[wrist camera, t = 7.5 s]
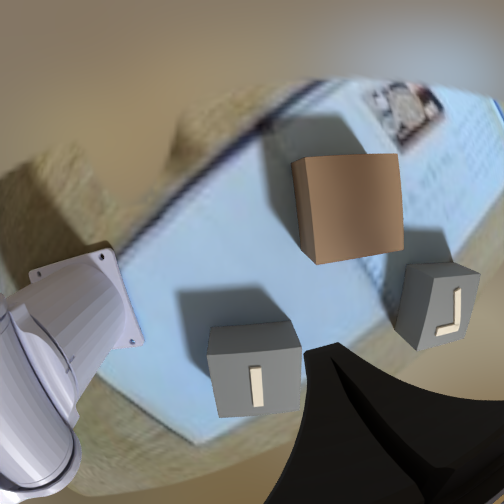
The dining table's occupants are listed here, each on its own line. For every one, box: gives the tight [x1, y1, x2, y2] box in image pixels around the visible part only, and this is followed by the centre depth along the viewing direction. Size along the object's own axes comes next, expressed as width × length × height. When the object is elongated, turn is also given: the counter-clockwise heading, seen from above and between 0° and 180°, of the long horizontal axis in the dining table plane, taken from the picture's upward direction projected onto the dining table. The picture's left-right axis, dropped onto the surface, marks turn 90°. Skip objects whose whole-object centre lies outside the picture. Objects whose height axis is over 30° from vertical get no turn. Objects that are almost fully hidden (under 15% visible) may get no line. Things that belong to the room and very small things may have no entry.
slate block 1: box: [207, 320, 302, 418], centre depth 19 cm, size 6×6×4 cm
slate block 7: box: [394, 262, 481, 351], centre depth 19 cm, size 6×6×4 cm
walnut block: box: [291, 154, 404, 265], centre depth 17 cm, size 6×6×4 cm
